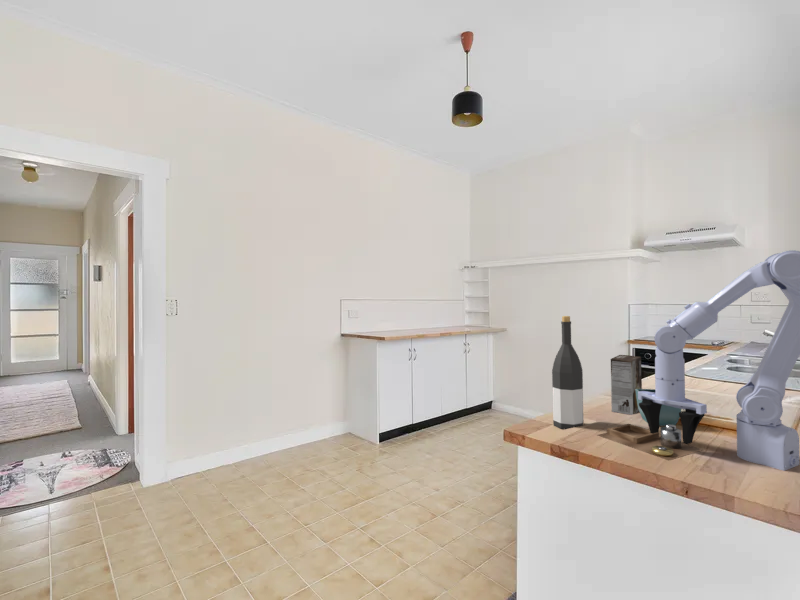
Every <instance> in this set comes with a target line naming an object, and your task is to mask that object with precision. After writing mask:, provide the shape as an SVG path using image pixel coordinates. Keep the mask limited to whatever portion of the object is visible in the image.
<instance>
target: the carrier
mask: <svg viewBox="0 0 800 600" xmlns="http://www.w3.org/2000/svg"><path fill="white" fill-rule="evenodd" d="M598 436H599V437H601V438H603V439H607V440H609V441H612V442H615V443H618V444H620V445H623V446H625V447H626V446H627V447H629V448H632V449H634V450H637V451H640V452H644V453H646V454H649V455H651V456H655V457H658V458H661V459H662V460H663V459H664V460H666V461H671V460H676V459H678V458H682V457H686V456H689V455H692V454H695V453H699V452H701V451H704V449H702V448H699V447H695V446H692V445H689V444H685V443H683V442H681V448H679V449H672V448H671V449H672V450H673V456H671V457H662V456H658V455H655V454H653V453H652V447H653V446H662V445H661V435H660V432H658V433H654V434H652V433H650V429H649V428H648V429H647V428H644V427H642V426H641V427H640V426H639V425H638V426H637V425H634V424H631V423H626V424H622V425H618V426H613V427H609V428H606V432H603V433H599V434H597V437H598Z"/></svg>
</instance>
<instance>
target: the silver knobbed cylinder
mask: <svg viewBox="0 0 800 600" xmlns="http://www.w3.org/2000/svg"><path fill="white" fill-rule="evenodd" d="M660 437H661V445H662V446H664V447H668V448H672V449H679V448H681V443H682V429H679V428H677V426H676V425H672V424H666V426H663V427H662V426H661V427H660Z"/></svg>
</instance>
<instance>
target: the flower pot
mask: <svg viewBox="0 0 800 600" xmlns="http://www.w3.org/2000/svg"><path fill="white" fill-rule="evenodd" d="M635 390H636V398H637V405H638V409H639V411H638V413H640V416H641V418H642V420H643V421H645V422H646V423H647V420H646V417H645V415H644V413H643V411H642V410H641V408H640V407H639V403H641V402H642V400H638V392H639V391H647V392H654V393H655V389H653V388H652V389H651V388H650V389H649V388H642V389H635ZM679 412H682V409H680V408H675V407H671V406H667V405H663V404H662V406H661V410H660V416H659V427H662V426H663V427H666V424H672V425H675V426H676V425H677V423H678V422H679V420H680V416H679Z"/></svg>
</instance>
